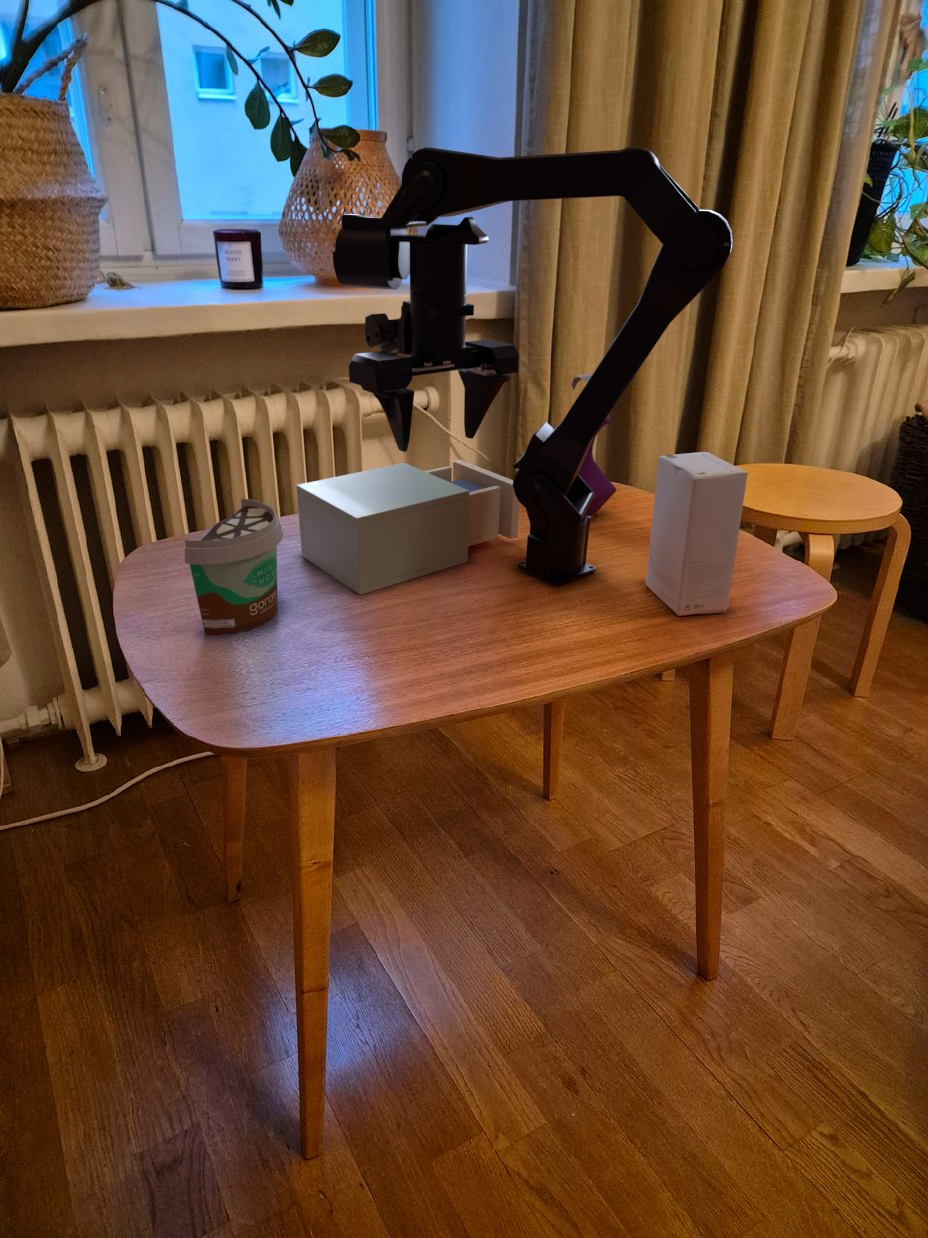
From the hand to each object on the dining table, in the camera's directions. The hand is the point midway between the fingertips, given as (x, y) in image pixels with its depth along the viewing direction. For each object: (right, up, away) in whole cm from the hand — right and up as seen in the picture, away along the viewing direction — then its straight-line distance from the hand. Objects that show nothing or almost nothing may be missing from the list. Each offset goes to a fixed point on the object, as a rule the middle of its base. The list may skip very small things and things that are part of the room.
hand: (437, 444), depth 88 cm
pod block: (+2, -7, +9) cm, 12 cm away
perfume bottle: (+18, -5, +19) cm, 27 cm away
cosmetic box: (+26, -17, -3) cm, 32 cm away
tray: (+2, -9, +10) cm, 13 cm away
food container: (-18, -19, -9) cm, 27 cm away
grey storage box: (-6, -12, +4) cm, 14 cm away
